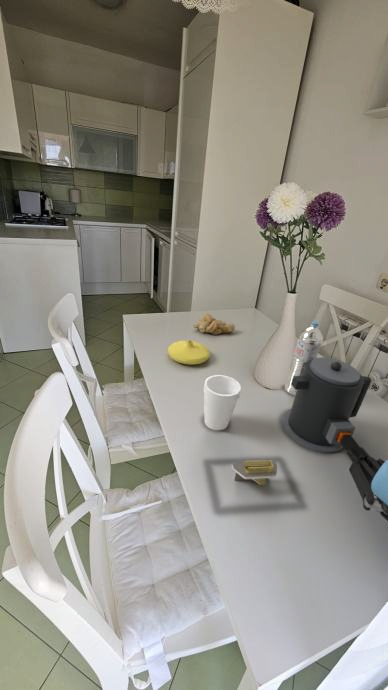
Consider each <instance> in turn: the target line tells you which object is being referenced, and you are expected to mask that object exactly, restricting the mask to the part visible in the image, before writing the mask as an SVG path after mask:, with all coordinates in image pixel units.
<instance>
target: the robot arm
mask: <svg viewBox="0 0 388 690" xmlns="http://www.w3.org/2000/svg"><path fill="white" fill-rule="evenodd" d="M341 445H342V446H343V448H344V450H345V451H346V452H345V453H346V455H347V457H348V459H350V461H351V465H350V467H349V468H348V471H349V473H350V476H351V478H352V480H353V482H354V484H355V486H356V489H357V490H358V493H359V495H360V497H361V499H362V508H363V509H364V510H365V511H368V512H369V511H370V510H371V509H372V510H374V511H376V512H379V514H380V515H381V517H382V518H384V519H385V520H386V521H387V522H388V458H387V459H386V460H384V459H382V458H378V459H375V458H374V457H372V456H371V455H370V454H369V453H368V452H367V450H365V448H363V447H361V446H360V444H359V443H358V442H357V441H356V440H355V439H354V437H353V436H352V437H351V435H344V436H343V439H342V441H341Z"/></svg>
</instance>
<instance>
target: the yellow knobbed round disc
mask: <svg viewBox="0 0 388 690" xmlns="http://www.w3.org/2000/svg"><path fill="white" fill-rule="evenodd" d="M167 353H168V357H169V358H171V359H172V360H173V361H174V362H176V363H180V364H184V365H200V364H202V363H205V362H206V361H208V359H209V358H210V356H211V352H210V349H209V348H208V346H206V345H204V344H203V343H201V342H197V341H193V340H191V339H188V340H179V341H175V342H173V343H171V344H170V345H169V347H168V348H167Z"/></svg>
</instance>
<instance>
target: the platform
mask: <svg viewBox="0 0 388 690" xmlns="http://www.w3.org/2000/svg"><path fill="white" fill-rule="evenodd" d="M231 468H232V471H234V472H235V475H234V479H233V481H234V482H236V481H237V482H238V481H254V482H255V483H256V484H258V485H260V486H264V487H265V486H266V482H267V480H269V479H274V478H276V477H277V475H278V474H277V473H278V464H277V462H276V461H275V460H271V459H265V460H264V459H263V460H245V461H238V462H237V461H234V462H232V463H231Z"/></svg>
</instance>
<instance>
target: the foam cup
mask: <svg viewBox="0 0 388 690" xmlns="http://www.w3.org/2000/svg"><path fill="white" fill-rule="evenodd" d="M241 391H242V387H241V384H240V383H239V382H238V380H237V379H235V378H233V377H231V376H228V375H224V374H213V375H210V376H208V377H207V378H205V380H204V384H203V392H202V393H203V415H204V416H203V417H204V420H203V421H204V424H205V426H206V427H208V428H209V429H211V430H213V431H223V430H226V428H227V427H229V425H230V424H229V423H230V422H231V421H230V420H231V419H232V416H233V413H234V411H235V408H236V405H237V402H238V400H239V398H240V395H241Z"/></svg>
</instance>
